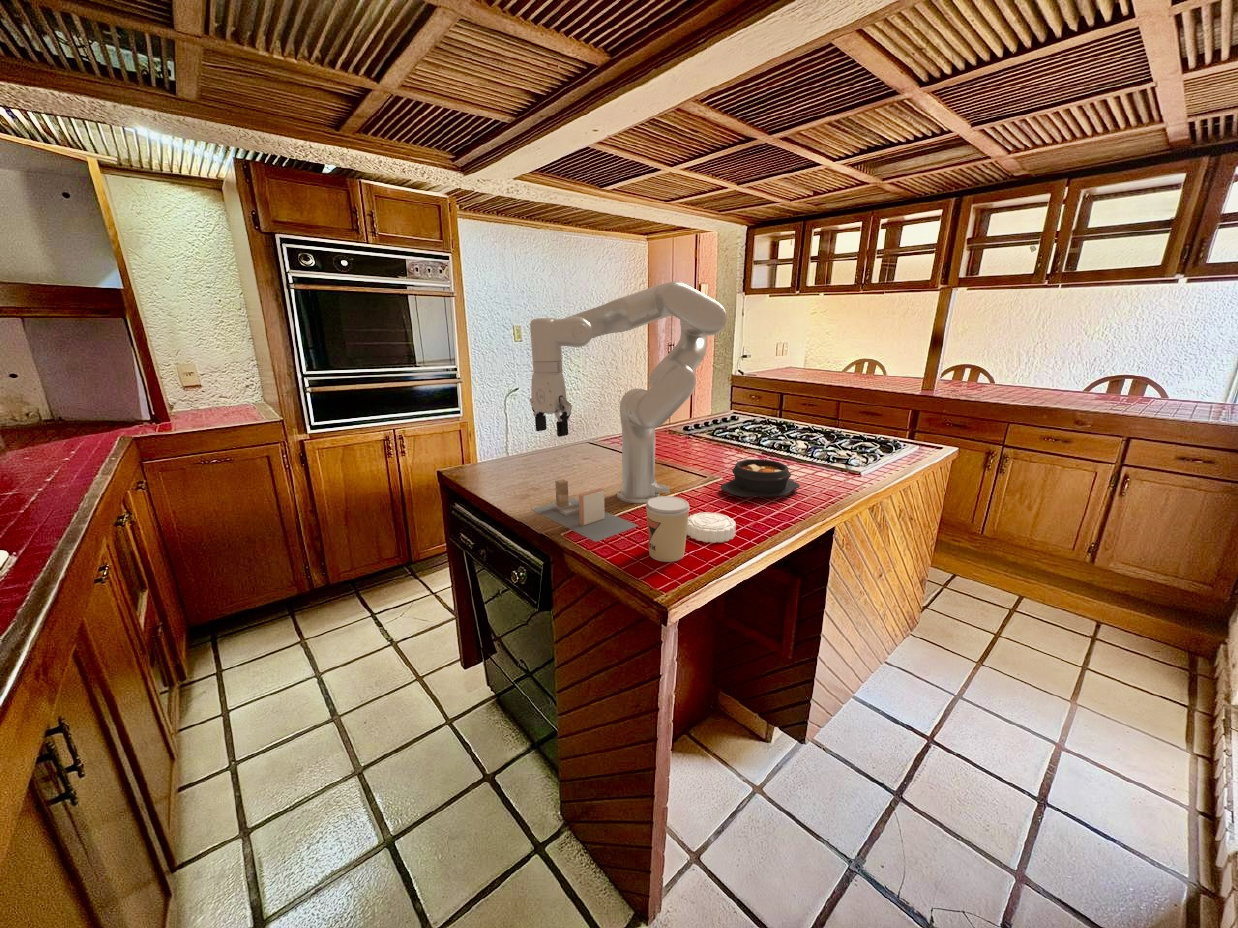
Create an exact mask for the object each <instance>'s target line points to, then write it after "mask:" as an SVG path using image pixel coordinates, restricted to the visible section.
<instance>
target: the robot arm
mask: <svg viewBox="0 0 1238 928" xmlns="http://www.w3.org/2000/svg"><path fill="white" fill-rule="evenodd" d="M726 311H727V310H726V309H725V308H724V306H723V305H722V304H721V303H720V302H718V301H717V300H715V299H713V298H711V297H709V296H708V295H706V294H705V293H703V292H701V291H699V290H697V289H695V288H694V287H691V286H690V285H688V284H686V283H684V282H680V281H678V280H677V281H671V282H664V283H661V284H658V285H654V286H652V287H648V288H646V289H643V290H639V291H637V292H634V293H631V294H628V295H625V296H622V297H619V298H616V299H613V300H611V301H609V302H607V303H604V304H601V305H599V306H596V307H594V308H590V309H587V310H584V311H581V312H578V313H575V314H573V315H570V316H566V317H564V318H553V317H540V318H539V317H538V318H532V319H531V321H530V323H529V330H530V344H531V359H532V375H531V376H532V377H531V387H530V390H531V393H530V394H531V395H530V396H531V398H529V403H530V405H531V410H532V415H533V417H534V421H535V422H534V424H535V425H534V426H535V431H536V432H543V431H546V430H547V416H546V414H548V415H553V414H554V415H555V417H556V419H557V421H556V436H557V437H559V438H561V437H566V436H569V420H570V417H571V414H572V413H571V412H572V410H573V405H572V403H570V402H569V400H568V399H567V389H566V383H565V377H564V373H563V369H564V368H563V355H562V354H563V353H562V347H568V348H569V347H571V348H582V347H585V346H586V345H588V344H589V343H590V342H591V340H592V339H595V338H597V337H598V338H599V337H601V336H605V335H610V334H618V333H624V332H628V331H631V330H634V329H637V328H640V327H643V326H645V325H648V324H650V323H651V324H652V323H653V322H657V321H659V320H662V319H664V318H668V317H675V318H677V319H678V320H679V324H680V338H679V340H678V342H677V343H676V345H675V346H674V347H673V348H672V349H671V350H670V352H668V354H667V355H666V356H664V358H662V360H661V361H660V362H659V363H657V365H656V366H655V367H653V369H652V370H651V372H650V373H649V377H648V385H649V387H650V389H649V390H646V389H643V388H632V389H630V390H628V391H626V392H625V393H624V394H623V396H622V397H621V399H620V403H619V416H620V424H621V425H620V426H621V465H622V466H621V470H622V471H621V474H622V475H621V476H622V477H621V479H622V480H621V481H622V482H621V483H622V484H621V485H622V487H621V488H620V489H619V490H617V492H616V498H617V499H618V500H620V501H622V502H624V503H629V504H647V502H648V501H649V500H650V499H652V498H655V497H660V496H661V494H670V493H671V488H670V487H671V486H667V484H659V483H657V479H656V429H657V428H659V427H661V426H662V425H663V424H664V423H665V422H667V421H668V420H670V418H671V417H672V416H673V415H674V413H676V412H677V411H678V410H679V408H681V407H682V405H683V404H684V403H685V402H686V401H688V399H689V398H690V397H691V396H692V394H693V392H694V391H695V388H696V384H697V383H696V382H697V379H696V373H695V372H694V371H695V370H696V369H697V368H698V366H699V365H700V364H701V363H702V362H703V360H704V358H705V356H706V353H707V349H708V348H707V347H708V337H709V336H710V337H711V336H715V335H717V334H719V333H720V332H722V331H723V330H724V329H725V328H726V326H727V322H728V314H727V312H726ZM660 493H661V494H660Z"/></svg>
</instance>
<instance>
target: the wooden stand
mask: <svg viewBox="0 0 1238 928" xmlns="http://www.w3.org/2000/svg"><path fill="white" fill-rule="evenodd" d="M568 499H569V481H568V480H566V479H563V478H562V479H559V480H555V502H556V505H554V506H552V509H553V510H556V511H558V512H560V513H562V514H564V515H566V516H568V515H571V514H575V513H578V512H579V507H578V506H575V505H573V504H571V503H569V502H568Z"/></svg>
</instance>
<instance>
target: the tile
mask: <svg viewBox="0 0 1238 928" xmlns="http://www.w3.org/2000/svg"><path fill="white" fill-rule="evenodd" d="M578 500H579V517H580V525H582V526H585V525H588V524H591V523H594V522H597V521H600V520H603V519H605V512H606V511H605V510H606V509H605V489H603V488H597V489H593V490H590V491H587V492H586V491H585V492H583V493H579V494H578Z"/></svg>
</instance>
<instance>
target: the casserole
mask: <svg viewBox="0 0 1238 928" xmlns="http://www.w3.org/2000/svg"><path fill="white" fill-rule="evenodd" d="M731 472H732V473H733V475H734V478H733V479H731V480H730V481H728V482H725V483H723V484H721V485H720V486H719V488H720V489H721V490H722V491H724V492H726V493H727V494H730V495H733V496H736V497H740V498H765V499H768V498H775V497H782V496H783V497H784V496H786V495H788V494H791V493H792V492H793V491H795V490H796V489H799V488H800V486H801V485H800V484H799V483H798V482H796V481H795V480H793V479H791V476H792V473H791V472H790V470H789V466H788V465H786V464H785V463H782V462H780V461H775V460H769V459H762V458H761V459H759V458H757V459H755V458H754V459H753V458H752V459H751V458H750V459H744V460H740V461H737V462H736V464H735V466H734V467H733V468H732V470H731Z"/></svg>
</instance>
